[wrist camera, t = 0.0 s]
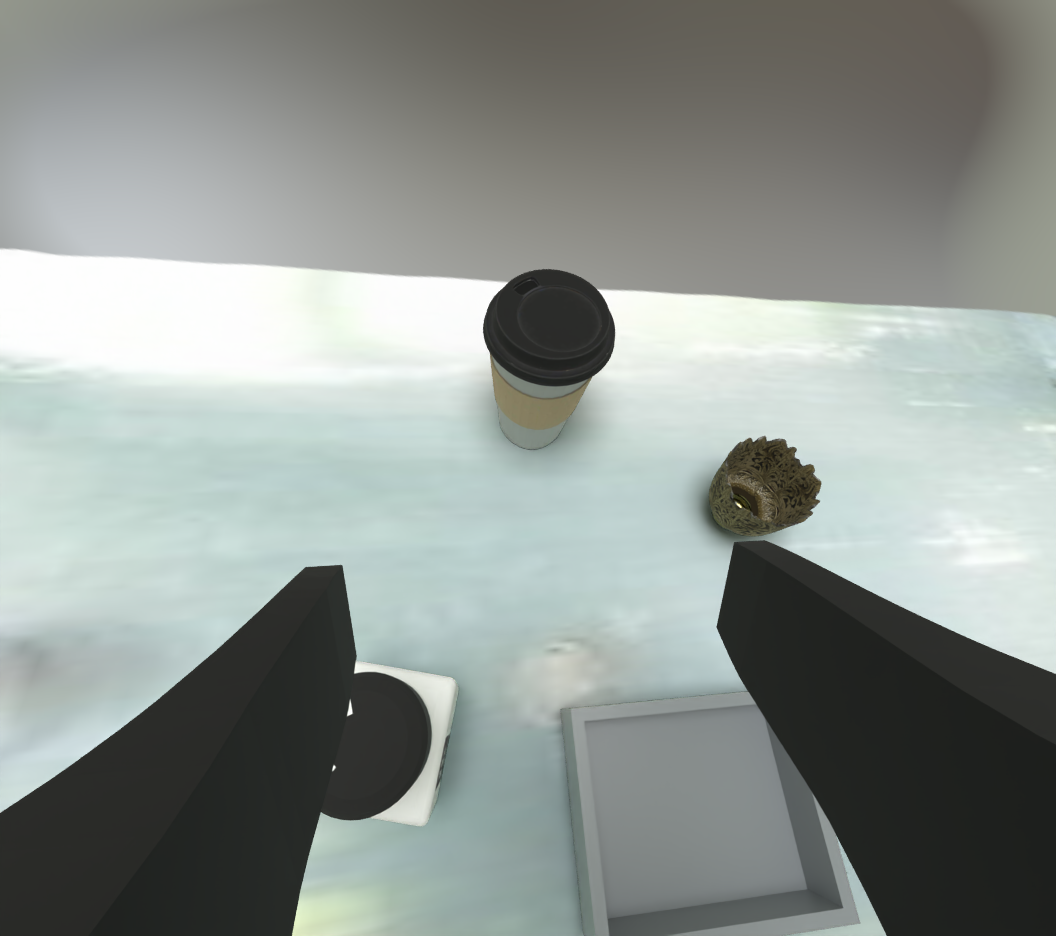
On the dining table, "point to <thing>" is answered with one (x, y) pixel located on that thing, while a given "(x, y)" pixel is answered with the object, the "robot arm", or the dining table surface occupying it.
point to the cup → (762, 488)
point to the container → (392, 745)
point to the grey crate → (697, 823)
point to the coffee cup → (545, 351)
